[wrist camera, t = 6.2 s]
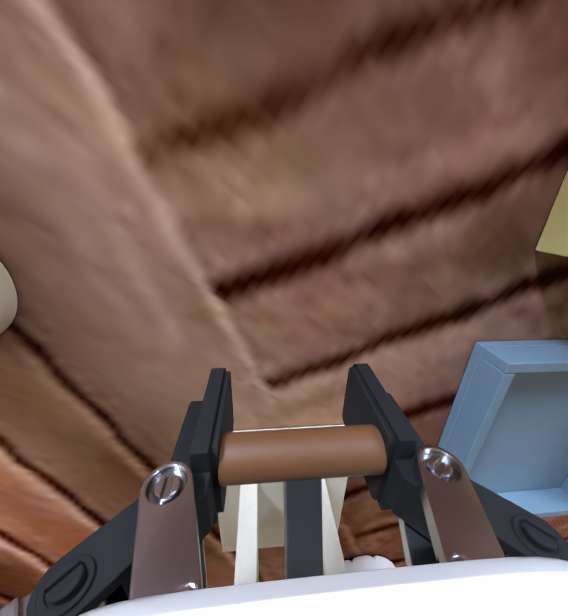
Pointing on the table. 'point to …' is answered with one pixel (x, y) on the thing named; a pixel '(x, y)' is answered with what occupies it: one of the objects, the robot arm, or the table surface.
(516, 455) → the dish
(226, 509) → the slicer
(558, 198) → the butter
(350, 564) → the water bottle
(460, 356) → the table surface
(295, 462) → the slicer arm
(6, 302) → the candle
